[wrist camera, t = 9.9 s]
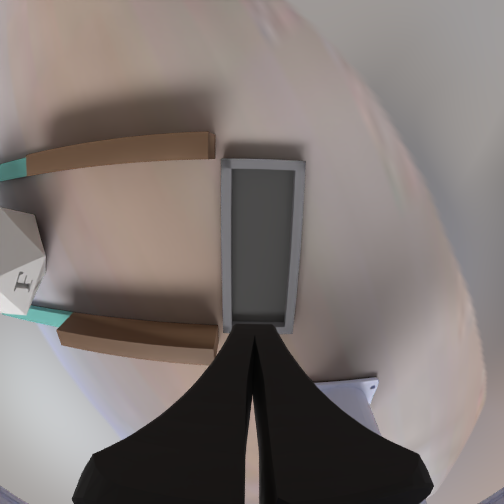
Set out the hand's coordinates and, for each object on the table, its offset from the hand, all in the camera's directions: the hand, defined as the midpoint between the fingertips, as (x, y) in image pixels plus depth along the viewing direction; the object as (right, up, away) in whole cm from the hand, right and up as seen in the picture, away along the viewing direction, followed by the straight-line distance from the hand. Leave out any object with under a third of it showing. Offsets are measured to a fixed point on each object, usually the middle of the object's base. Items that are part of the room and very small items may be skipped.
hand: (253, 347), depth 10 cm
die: (-19, +4, +10) cm, 22 cm away
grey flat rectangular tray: (0, +3, +10) cm, 10 cm away
